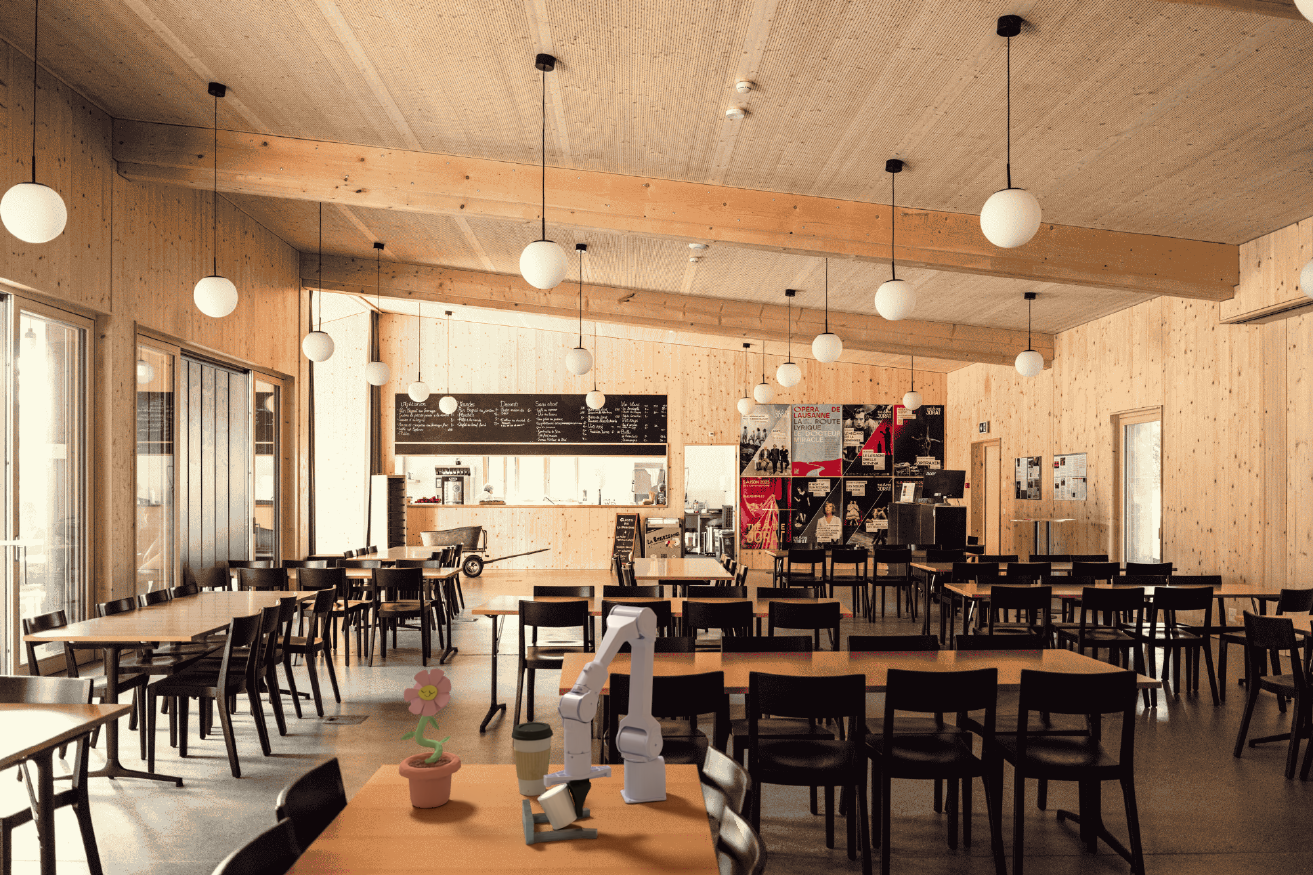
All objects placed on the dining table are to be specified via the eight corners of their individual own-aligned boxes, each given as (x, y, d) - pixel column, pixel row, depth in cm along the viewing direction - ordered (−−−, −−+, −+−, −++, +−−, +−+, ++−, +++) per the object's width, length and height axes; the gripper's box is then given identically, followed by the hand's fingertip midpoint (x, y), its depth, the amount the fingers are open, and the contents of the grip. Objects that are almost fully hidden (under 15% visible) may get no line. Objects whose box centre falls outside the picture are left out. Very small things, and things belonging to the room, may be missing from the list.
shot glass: (565, 829, 181) (551, 797, 182) (544, 832, 186) (530, 801, 186) (586, 811, 187) (573, 780, 187) (565, 815, 191) (552, 785, 192)
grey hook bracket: (589, 814, 193) (589, 793, 194) (598, 838, 180) (598, 816, 180) (522, 820, 190) (522, 798, 191) (526, 845, 177) (526, 822, 177)
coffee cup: (557, 784, 213) (557, 721, 214) (548, 798, 203) (548, 732, 204) (517, 783, 214) (517, 721, 215) (506, 797, 204) (506, 732, 205)
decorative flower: (383, 812, 196) (384, 675, 198) (410, 791, 210) (410, 663, 211) (446, 815, 194) (447, 677, 196) (469, 793, 207) (470, 664, 209)
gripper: (602, 740, 193) (603, 804, 193) (539, 749, 187) (539, 815, 187) (614, 749, 187) (615, 814, 186) (549, 758, 181) (549, 826, 180)
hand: (578, 815), depth 186 cm, fingers closed, pressing on shot glass
